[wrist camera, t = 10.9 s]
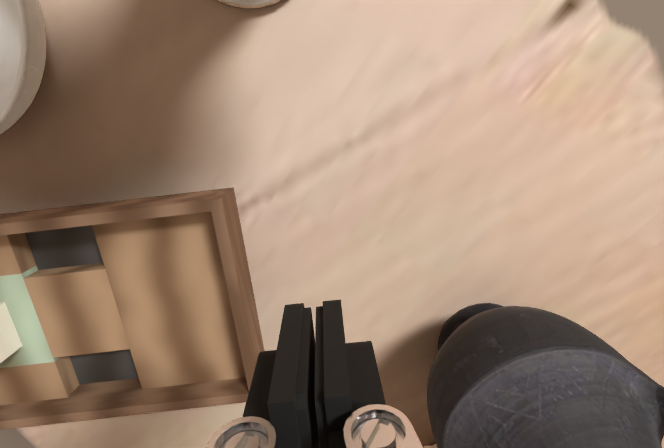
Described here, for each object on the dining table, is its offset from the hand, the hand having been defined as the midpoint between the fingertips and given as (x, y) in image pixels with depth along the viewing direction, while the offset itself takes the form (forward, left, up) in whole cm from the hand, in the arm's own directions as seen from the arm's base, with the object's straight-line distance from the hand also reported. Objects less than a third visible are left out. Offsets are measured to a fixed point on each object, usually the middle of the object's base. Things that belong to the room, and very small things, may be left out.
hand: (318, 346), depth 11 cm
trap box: (+10, -23, -27) cm, 37 cm away
